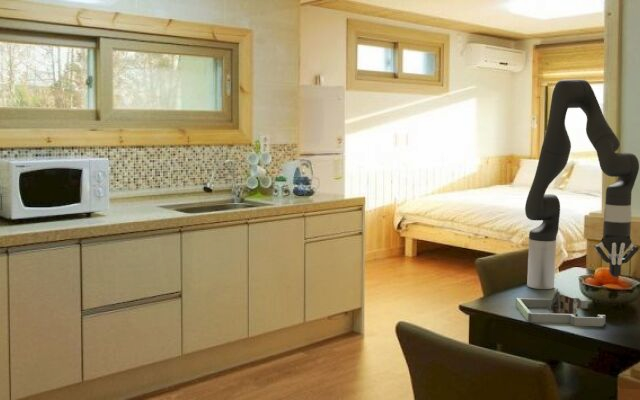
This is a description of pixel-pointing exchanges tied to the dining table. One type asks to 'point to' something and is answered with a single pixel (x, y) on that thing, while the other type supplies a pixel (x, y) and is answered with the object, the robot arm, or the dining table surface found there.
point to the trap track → (556, 318)
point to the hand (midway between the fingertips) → (614, 276)
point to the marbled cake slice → (563, 304)
